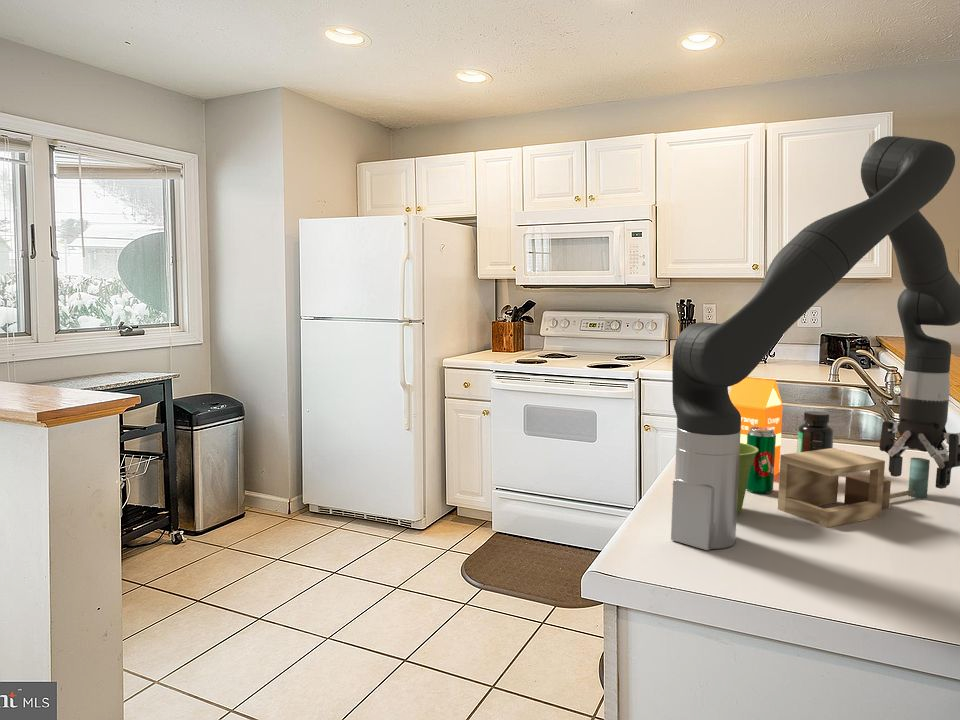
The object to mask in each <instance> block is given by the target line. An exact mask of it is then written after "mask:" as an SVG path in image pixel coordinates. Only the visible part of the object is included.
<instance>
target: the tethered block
mask: <svg viewBox="0 0 960 720" xmlns="http://www.w3.org/2000/svg"><path fill="white" fill-rule="evenodd" d="M909 463H910V465H909V477H908V487H907V488H908V490H903V491H899V492H893V493H891V485H892V484H891V483H892V480H890V479H887V478H884V483H883V497H882V511H883V510H887V509H890V501H891V500H890V499H896V498H899V497H905V496H908V497H910V496H911V498H913V497H914V498H913V499H918V498H926V499H927V498H928V488H929V475H930V459H928V458H922V457H910V462H909ZM869 479H870V474H868V473H860V474H854V475H848V476H847V475H846V476H845V484H844V498H843V499H844V501H843V504H844V505H849V504H854V503H860V502H865V501H868V493H869Z"/></svg>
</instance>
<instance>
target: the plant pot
mask: <svg viewBox="0 0 960 720" xmlns="http://www.w3.org/2000/svg"><path fill="white" fill-rule="evenodd" d="M758 451H759V450H758V448H756V447H754V446H752V445H749V444H744V443H740V455H739V476H738V497H737V514H740V513H741V511H742V510H743V505H744V501H745V497H746V496H745V495H746V491H747V489H746V487H747V482H748V478H749V473H750V469H751V466H752V465H753V461H754V457H755V454H756V453H758Z"/></svg>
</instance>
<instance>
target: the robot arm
mask: <svg viewBox="0 0 960 720" xmlns="http://www.w3.org/2000/svg"><path fill="white" fill-rule="evenodd" d="M955 165H956V156H955V152H954V150H953V149H952V147H950V146H949V145H948V144H945V143H943V142H940V141H936V140H931V139H923V138H914V137H907V136H897V135H896V136H895V135H891V136H890V135H889V136H888V135H887V136H884V137H880V138H879V139H877V140H876V141H874V143H872V144H871V145H870V146H869V147H868V149H867V151H866V152H865V154H864V155H863V158H862V162H861V164H860V179H861V183H862V186H863V189H864V191H865V193H866V195H867V197H868V198H867V199H866V200H863V201H861V202H859V203H856V204H854V205H851V206H849V207H846V208H843V209H841V210H838V211H836V212H834V213H831V214H829V215H827V216H826V215H825V216H824V217H821V218H819V219H817V220H815V221H814V222H811V223H810V224H808V225H806V227H804V228H803V229H802V230H800V231H799V232H798V233H796V235H795V236H794V237H793V238H792V239H791V240H790V241H789V242H788V243H786V245H784V246H783V247H782V249H781V250H779V252H778V253H776V255H775V256H774V258H773V259H772V260H771V263H770V265H769V267H768V269H767V271H766V273H765V275H764V278H763V280H762V283H761V284H760V285H761V286H760V287H759V289H758V290H757V292H756V293H755V295H754V296H753V297H752V298H751V299H750V300H749V301H748V302H747V303H746V304H745V305H744V306H742V307H741V308H740V309H739V310H738V311H737V312H736V313H734V314H733V315H732V316H730V317H729V318H728V319H726V320H725V321H724V322H722V323H714V322H706V321H705V322H704V321H703V322H695V323H692V324H689V325H688V326H686V327H685V328H683V330H682V331H681V332H680V333H679V334H678V336H677V338H676V340H675V342H674V346H673V352H672V360H671V361H672V364H671V365H672V366H671V367H672V368H671V369H672V373H671V374H672V377H671V379H672V380H671V382H672V388H671V389H672V405H673V410H674V411H675V415H676V443H675V444H676V445H675V464H674V465H675V467H674V471H675V472H674V480H673V481H672V499H671V501H672V502H671V504H672V505H671V529H670V531H671V532H670V540H671V541H675V542H677V543H682V544H684V545H688V546H691V547H694V548H698V549H702V550H705V551H710V550H713V549H724V548H725V549H726V548H729V547H732V546H734V545H735V543H736V536H737V534H736V532H737V520H738V519H737V516H738V515H737V497H738V476H739V455H740V436H741V415H740V412H739V411H738V410H737V408H736V407H735V406H734V405H733V403H732V401H731V400H730V397H729V389H728V388H729V387H732V386H733V385H735V384H737V383H739V382H741V381H742V380H743V379H745V378H746V377H749V376H750V374H751V373H752V372H753V371H754V370H755V368H757V366H758V365H759V364H760V363H761V362H762V361H763V359H764V358H765V357H766V355H767V354H768V353H769V352H770V351H771V350H772V349H773V347H774V346H775V345H776V344H777V342H778V341H779V340H780V339H781V338H782V337H783V335H784V334H785V333H786V332H787V331H788V330H789V329H790V328H791V327H792V326H793V325H794V324H795V323H797V322H798V320H799V319H801V318H802V317H803V316H804V314H806V312H808V311H809V310H810V309H811V308H812V307H813V306H814V304H816V303H817V302H818V301H819V300H820V299H821V298H822V297H823V296H824V295H825V294H827V293H828V292H829V291H830V290H831V289H832V288H833V287H834V286H835V285H837V284H838V283H839V281H841V280H842V279H843V278H844V277H845V276H846V275H847V274H848V273H849V272H850V271H851V270H852V269H853V267H855V266H856V264H858V263H859V262H860V261H861V260H862V259H863V257H865V256H866V255H867V254H868V253H869V252H870V251H871V250H873V248H875V247H876V246H878V244H879V243H880V242H881V241H883V240H884V239H885V238H886V237H887V236H888V238H889V241H890V243H891V245H892V247H893V250H894V254H895V257H896V261H897V265H898V269H899V273H900V278H901V281H902V283H903V286H904V287H905V289H903V291H902V292H901V293H900V294H899V297H898V299H897V305H896V306H897V312H898V317H899V320H900V325H901V328H902V333H903V338H904V344H905V345H904V347H905V348H904V349H905V350H904V365H903V374H902V377H901V378H902V379H901V386H900V395H899V396H900V397H899V409H898V410H899V411H898V418H899V420H900V421H899V422H897V421H896V420H894V419H891V420H885V421H883V422H882V425H881V432H880V439H879V440H880V441H879V448H878V449H879V450H880V451H881V452H885V453H886V454H887V455H888V456H889V459H888V460H889V462H888V472H889V473H890V476H891V477H896V478H897V477H901V476H902V473H903V471H902V470H903V456H902V455H903V454H904V452H905V451H907V450H908V449H910V450H918V451H920V452H927V453H928V454H929V457H931V458H933V460H934V462H935V464H937V466H938V467H936V473H935V474H936V475H935V476H936V478H935V488H937V489H946V488H947V487H948V486H950V483H951V474H952V469H953V468H958V467H960V432H956V433H955V432H948V431H947V429H946V425H947V423H948V413H949V405H950V404H949V403H950V392H951V390H950V389H951V380H950V369H951V360H952V359H951V357H952V346H951V343H950V342H949V341H947V340H946V339H942V338H938V337H932V336H930V335H927V334H926V333H925V332H924V331H923V328H922V325H923V326H940V327H941V326H944V327H950V326H955V325H957V324H960V282H958V281H957V280H956V278H955V276H954V275H953V273H952V272H951V271H950V269H949V263H948V259H947V258H948V257H947V253H946V248H945V243H944V242H943V240H942V238H941V236H940V234H939V233H938V232H937V230H936V229H935V228H934V226H933V225H932V224H931V223H930V222H929V221H928V220H927V218H926V217H925V216H924V215H923V214H922V213H921V211H920V210H921V209H922V208H924V207H925V206H926V205H928V203H930V202H931V201H932V200H933V199H934V198H935V197H936V196H937V195H938V194H939V193H940V192H941V191H942V190H943V188H945V186H946V184H947V183H948V181H949V180H950V178H951V176H952V175H953V173H954V172H953V171H954V170H955ZM897 432H898V433H899V435H900V437H899V438H898V439H897V440H896V441H895V439H896V433H897ZM945 440H946V444H948V449H947V448H946V446H945V444H944V443H943V442H944V441H945Z"/></svg>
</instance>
